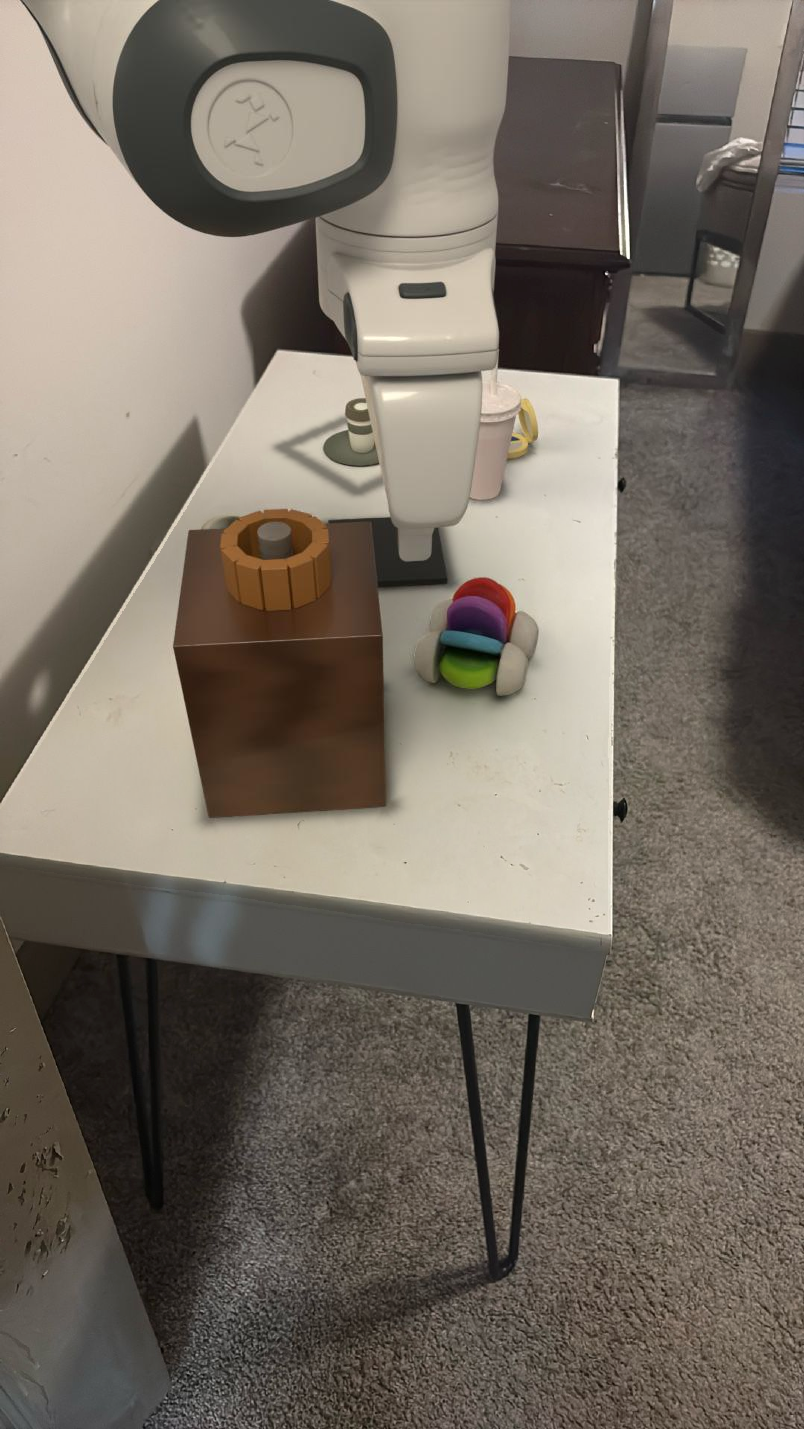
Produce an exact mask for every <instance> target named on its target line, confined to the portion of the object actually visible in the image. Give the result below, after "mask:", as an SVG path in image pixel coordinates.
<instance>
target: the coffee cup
mask: <svg viewBox="0 0 804 1429" xmlns="http://www.w3.org/2000/svg"><path fill="white" fill-rule="evenodd" d="M344 410H345V411H344V415H345V417H346V425H347V429H345V430H341V431H339V432H336V433H334V434H332V435H330V436H329V437H328V438H326V440H325V441H324V443H323V446H322V448H323V453H324V454H325V455H326V456H327V457H328V458H329V459H330V460H332V461H334V462H337V463H339V464H342V465H346V466H352V467H365V466H366V467H368V466H375V465H380V463H379V459H378V454H377V449H376V445H375V440H374V435H373V431H372V426H371V421H370V417H369V412H368V407H367V403H366V398H365V397H358V398H354V399H351V400H350V401H348V402H347V403H346V405H345V409H344Z"/></svg>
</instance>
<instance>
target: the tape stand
mask: <svg viewBox="0 0 804 1429" xmlns="http://www.w3.org/2000/svg"><path fill="white" fill-rule="evenodd" d="M324 524H325V525H326V526H327V529H328V530H329V546H330V562H331V581H332V582H331V583H330V586H329V588H328V589H327V590H326V591H325V592H324V593H323V594H322V596H321V597H320V598H316V600H315V601H313V602H311V603H308V604H306V605H303V606H301V607H298V608H296V609H295V608H294V607H293V606H292V605H291V610H277V611H266V607H265V608H264V609H263V610H259V609H256V608H253V607H250V606H246V605H243V604H242V603H241V602H238V601H237V600H236V599H235V598H234V597H233V596H232V595H231V594H230V593H229V592H228V590H227V588H226V582H225V575H224V569H223V562H222V556H221V549H220V545H221V535H222V534H223V531H224V530H225V529H226V528H227V527H223V528H221V527H220V528H202V529H189V530H188V531H187V539H186V546H185V552H184V553H185V554H184V559H183V560H184V562H183V569H182V576H181V583H180V590H179V596H178V605H177V613H176V622H175V629H174V634H173V635H174V636H173V641H172V642H173V644H172V649H173V654H174V659H175V664H176V668H177V673H178V677H179V683H180V686H181V692H182V697H183V701H184V706H185V711H186V716H187V721H188V725H189V726H188V727H189V730H190V735H191V740H192V745H193V750H194V754H195V759H196V764H197V768H198V774H199V780H200V783H201V788H202V793H203V798H204V802H205V807H206V812H207V817H208V818H224V817H225V818H226V817H239V816H240V817H241V816H242V817H243V816H255V815H256V816H257V815H271V814H288V813H289V814H290V813H303V812H305V813H307V812H321V811H336V810H337V811H338V810H353V809H355V810H356V809H369V808H385V807H387V776H386V774H387V773H386V772H387V771H386V770H387V769H386V727H385V726H386V725H385V722H386V721H385V717H386V716H385V676H384V675H385V674H384V673H385V672H384V669H385V668H384V634H383V633H384V632H383V624H382V613H381V604H380V596H379V595H380V594H379V587H378V584H377V574H376V565H375V555H374V546H373V536H372V526H371V522H351V523H329V524H328V523H324ZM257 535H258V543H259V551H260V559H262V560H272V559H286V558H289V557H292V556H293V545H292V534H291V528H290V527H289V525H287V524H285V523H282V522H269V523H266V524H263V525H262V526H260V527H259V529H258V531H257Z"/></svg>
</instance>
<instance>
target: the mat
mask: <svg viewBox="0 0 804 1429" xmlns="http://www.w3.org/2000/svg"><path fill="white" fill-rule="evenodd" d="M351 522H371V526H372V536H373V546H374V555H375V565H376V574H377V584H378V588H380V587H381V588H382V587H402V586H423V585H425V586H426V585H441V584H442V585H443V584H444V585H445V584H448V573H447V568H446V563H445V557H444V552H443V546H442V541H441V537H440V531H439V527H437V528H434V531H433V534H432V550H431V555H430V557H429V558H428V559H427V560H424V561H407V562H406V561H403V560H401V558H400V556H399V551H398V546H397V527H395V526H394V524H393V523H392V520H391V517H390V516H384V517H383V516H382V517H364V518H363V517H362V518H343V519H341V518H340V519H328V523H327V524H329V523H351Z"/></svg>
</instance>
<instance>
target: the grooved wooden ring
mask: <svg viewBox="0 0 804 1429" xmlns="http://www.w3.org/2000/svg"><path fill="white" fill-rule="evenodd" d="M269 522H282V523H285V524H287V525H289V527H290V528H291V534H292V545H293V556H292V557H289V558H286V559H272V560H262V559H260V551H259V543H258V535H257V531H258V529H259V527H260V526H262V525H263V524H266V523H269ZM325 524H326V523H324V522H322V521H321V520H320V519H319V517H317V516H316V515H312V513H308V512H304V511H300V510H297V509H293V508H291V509H289V510H288V508H275V509H274V508H273V509H263V512H262V511H261V510H257V511H253V512H251V513H248V514H245V515H242V516H239V517H238V519H235V520H234V521H233V522H232V523H231V524H229V525H228V526H227V527H225V528H226V529H225V530H224V531H223V534H222V535H221V545H220V549H221V556H222V562H223V569H224V575H225V582H226V588H227V590H228V592H229V593H230V594H231V595H232V596H233V597H234V598H235V599H236V600H237V601H238V602H241V603H242V604H243V605H246V606H250V607H253V608H256V609H259V610H263V609H264V608H265V607H266V611H277V610H291V605H292V606H293V607H294V608H295V609H296V608H298V607H301V606H303V605H306V604H308V603H311V602H313V601H315V600H316V598H320V597H321V596H322V594H323V593H324V592H325V591H326V590H327V589H328V588H329V586H330V583H331V582H332V581H331V562H330V546H329V530H328V529H327V526H326V525H325Z"/></svg>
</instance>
